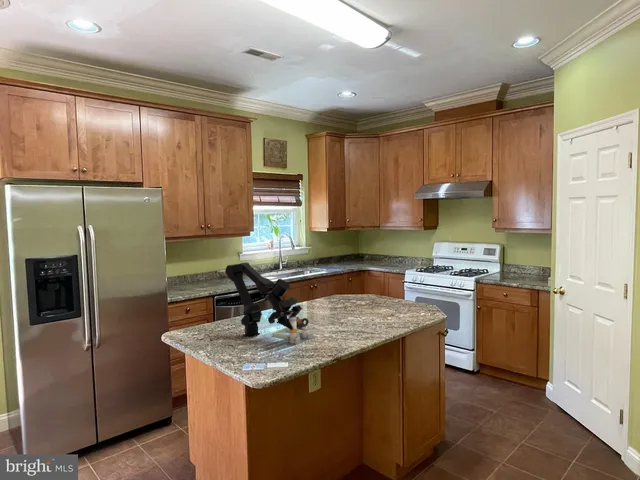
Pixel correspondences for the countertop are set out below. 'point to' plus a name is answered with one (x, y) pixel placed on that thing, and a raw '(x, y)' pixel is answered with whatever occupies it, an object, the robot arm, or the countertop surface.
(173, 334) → the countertop surface
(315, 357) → the countertop surface
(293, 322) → the banded fuse
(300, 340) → the block
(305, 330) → the cylinder
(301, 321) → the pottery mug
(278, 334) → the tray
